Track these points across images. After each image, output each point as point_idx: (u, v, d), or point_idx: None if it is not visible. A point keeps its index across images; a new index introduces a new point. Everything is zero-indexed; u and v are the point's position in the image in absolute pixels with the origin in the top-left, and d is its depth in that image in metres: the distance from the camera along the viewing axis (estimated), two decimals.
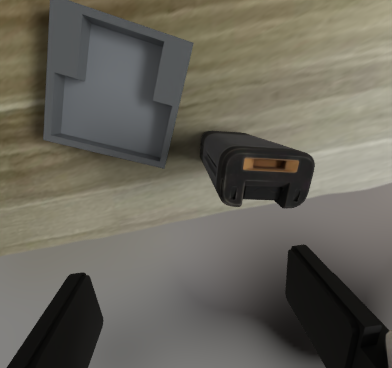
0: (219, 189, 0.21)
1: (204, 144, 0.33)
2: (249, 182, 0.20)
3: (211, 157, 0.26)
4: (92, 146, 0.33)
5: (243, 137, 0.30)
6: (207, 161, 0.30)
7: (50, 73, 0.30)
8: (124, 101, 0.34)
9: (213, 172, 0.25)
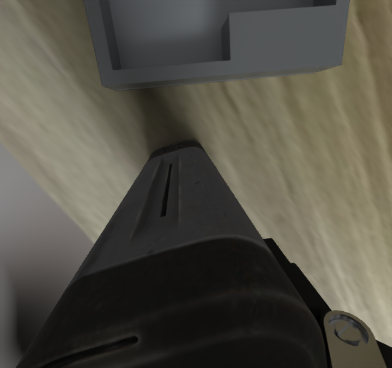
0: (69, 340, 0.03)
1: (185, 149, 0.16)
2: None
3: (179, 183, 0.09)
4: None
5: None
6: (158, 171, 0.13)
7: None
8: None
9: (143, 212, 0.08)
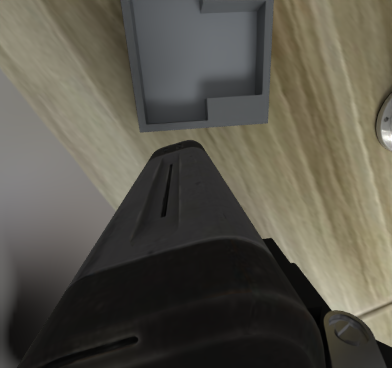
0: (70, 340, 0.03)
1: (185, 150, 0.16)
2: None
3: (180, 183, 0.09)
4: (132, 36, 0.27)
5: None
6: (159, 171, 0.13)
7: None
8: (194, 65, 0.31)
9: (143, 213, 0.08)
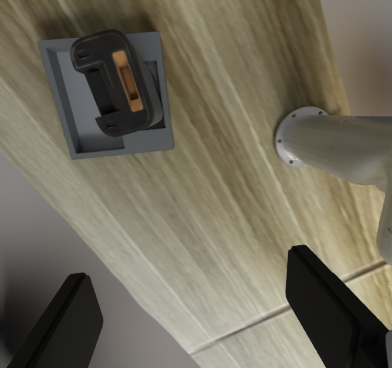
0: (82, 38, 0.19)
1: None
2: (103, 68, 0.20)
3: None
4: (56, 90, 0.35)
5: (154, 92, 0.31)
6: None
7: None
8: None
9: None
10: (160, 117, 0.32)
